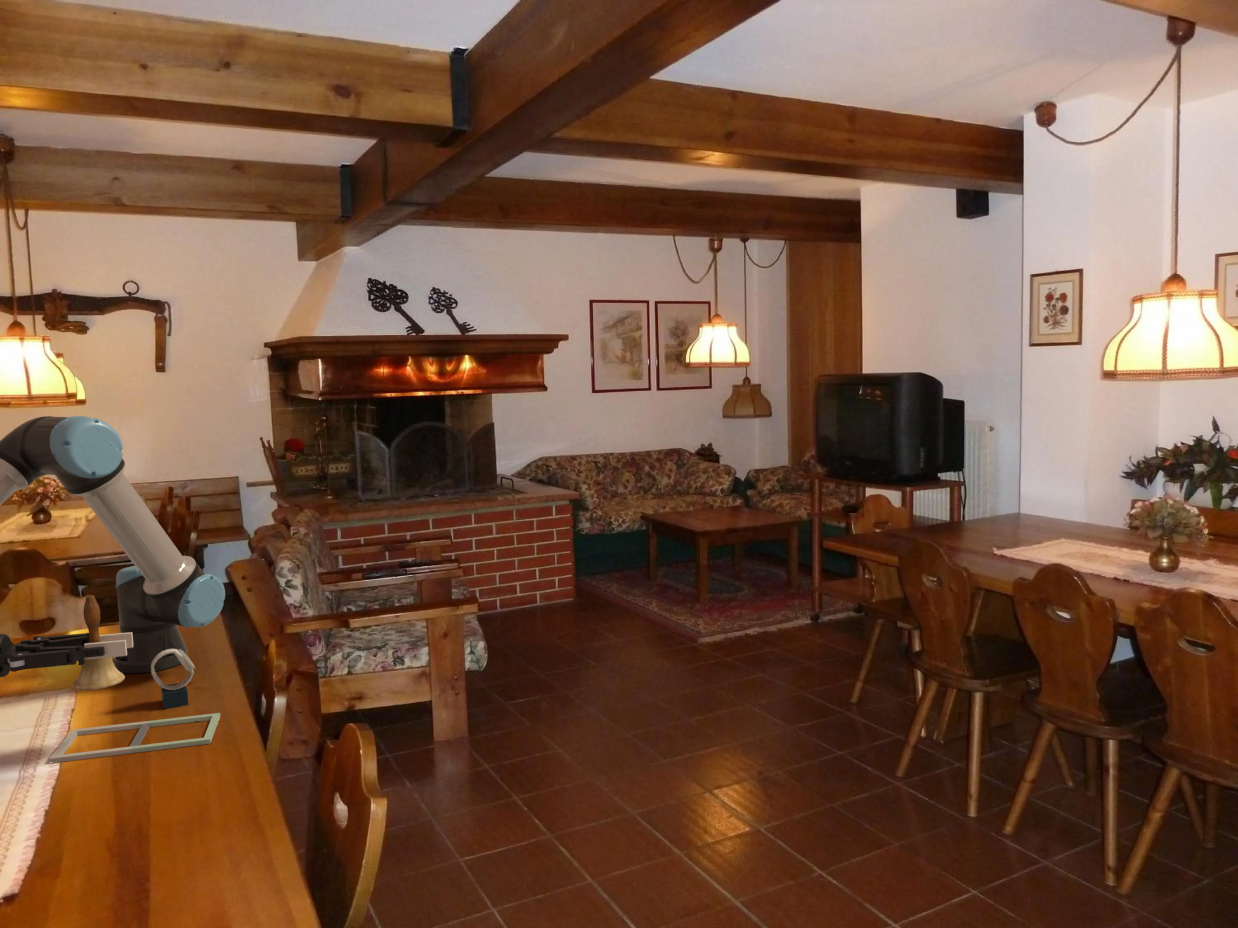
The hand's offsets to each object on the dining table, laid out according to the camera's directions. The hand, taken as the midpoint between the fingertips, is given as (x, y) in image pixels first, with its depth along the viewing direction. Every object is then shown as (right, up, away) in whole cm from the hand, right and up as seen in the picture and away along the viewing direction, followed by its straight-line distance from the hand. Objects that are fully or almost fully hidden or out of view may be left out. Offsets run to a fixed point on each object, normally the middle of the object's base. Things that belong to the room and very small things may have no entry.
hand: (128, 643), depth 168 cm
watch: (-1, -16, +20) cm, 26 cm away
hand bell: (-5, -7, -1) cm, 9 cm away
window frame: (+1, -18, +2) cm, 18 cm away
